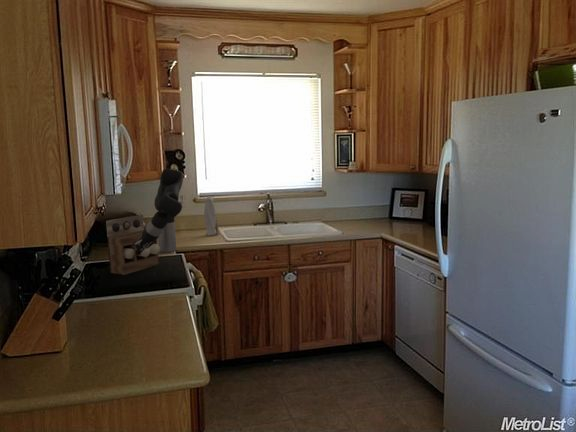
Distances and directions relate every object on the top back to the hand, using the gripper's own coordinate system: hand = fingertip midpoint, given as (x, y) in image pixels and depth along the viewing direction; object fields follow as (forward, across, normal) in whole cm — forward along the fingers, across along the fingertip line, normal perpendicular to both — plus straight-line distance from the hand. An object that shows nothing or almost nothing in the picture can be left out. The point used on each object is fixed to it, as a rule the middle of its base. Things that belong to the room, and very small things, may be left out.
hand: (137, 253), depth 241 cm
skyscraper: (+33, -98, -20) cm, 106 cm away
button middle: (+6, -7, -2) cm, 9 cm away
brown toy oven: (+14, -7, -1) cm, 16 cm away
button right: (+6, -14, -2) cm, 15 cm away
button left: (+8, 0, -4) cm, 10 cm away
